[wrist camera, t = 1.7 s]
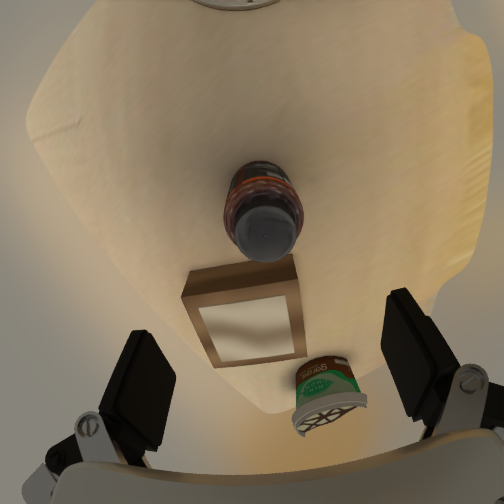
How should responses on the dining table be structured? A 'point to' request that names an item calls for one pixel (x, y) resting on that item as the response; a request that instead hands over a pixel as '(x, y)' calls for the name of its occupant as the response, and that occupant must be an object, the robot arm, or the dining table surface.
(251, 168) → the supplement bottle
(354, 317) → the dining table surface
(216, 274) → the walnut base
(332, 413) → the food container
